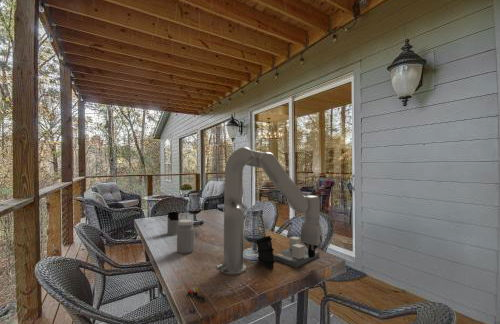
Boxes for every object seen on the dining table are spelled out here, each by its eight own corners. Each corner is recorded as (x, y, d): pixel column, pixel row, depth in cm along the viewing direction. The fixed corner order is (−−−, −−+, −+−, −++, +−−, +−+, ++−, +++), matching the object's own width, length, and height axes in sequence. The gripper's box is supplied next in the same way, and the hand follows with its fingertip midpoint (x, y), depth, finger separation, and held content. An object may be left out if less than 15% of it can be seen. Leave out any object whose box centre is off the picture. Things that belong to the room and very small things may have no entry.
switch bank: (296, 267, 124) (296, 262, 124) (273, 259, 134) (273, 254, 134) (319, 256, 139) (319, 251, 139) (296, 249, 150) (296, 245, 150)
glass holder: (166, 232, 184) (166, 212, 184) (185, 230, 190) (185, 210, 190) (167, 235, 176) (167, 214, 176) (187, 233, 182) (188, 213, 182)
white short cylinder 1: (299, 259, 127) (299, 247, 127) (292, 257, 130) (292, 245, 130) (304, 257, 130) (304, 245, 130) (297, 254, 133) (297, 243, 133)
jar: (189, 255, 140) (190, 223, 140) (173, 253, 141) (174, 222, 142) (196, 249, 149) (197, 219, 149) (181, 247, 151) (182, 218, 151)
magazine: (271, 268, 119) (264, 236, 124) (259, 270, 129) (253, 241, 135) (277, 267, 120) (271, 235, 126) (265, 269, 131) (260, 240, 137)
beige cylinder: (296, 250, 140) (296, 239, 140) (289, 248, 144) (289, 237, 144) (300, 248, 144) (300, 237, 144) (294, 246, 147) (294, 236, 147)
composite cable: (206, 302, 93) (206, 295, 93) (194, 306, 90) (194, 299, 90) (196, 290, 101) (196, 284, 101) (185, 294, 99) (185, 288, 99)
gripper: (294, 219, 127) (294, 254, 127) (321, 224, 117) (321, 263, 117) (303, 216, 133) (302, 251, 133) (329, 221, 122) (329, 259, 122)
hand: (311, 256), depth 125 cm, fingers closed
